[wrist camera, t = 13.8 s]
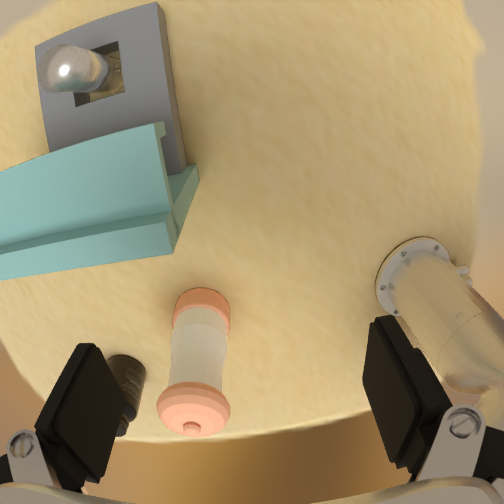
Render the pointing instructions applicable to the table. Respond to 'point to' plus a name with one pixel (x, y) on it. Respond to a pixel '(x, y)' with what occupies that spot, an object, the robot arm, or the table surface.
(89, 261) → the socket stand
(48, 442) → the robot arm
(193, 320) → the salt shaker
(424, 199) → the table surface
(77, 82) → the peg
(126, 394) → the supplement bottle
